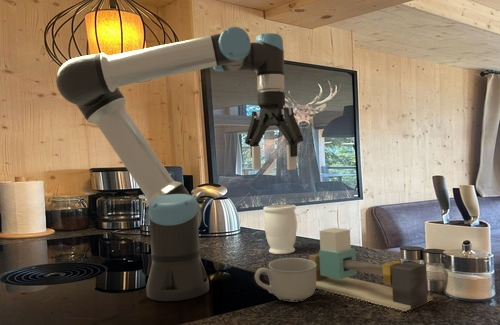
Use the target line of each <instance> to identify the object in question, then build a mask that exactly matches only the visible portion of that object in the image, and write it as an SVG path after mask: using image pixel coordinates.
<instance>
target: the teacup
mask: <svg viewBox="0 0 500 325" xmlns="http://www.w3.org/2000/svg"><path fill="white" fill-rule="evenodd" d="M316 267H317V264H316V263H315V262H314V261H312V260H309V258H308V259H307V258H303V257H283V258H277V259H274V260H272V261H270V262H269V263H268V266H267V267H259V268H258V269H257V270H256V271H255V272H254V273H255V274H254V281H255V282H256V284H257V285H258V286H260V287H261V288H262V289H264V290H267V292H268V293H269V294H273V296H276V298H277V299H278V300H280V301H281V299H290V300H295V299H305V298H308V297H309V298H310V297H311V296H313V294H314V293H315V291H316V290H315V289H316ZM262 273H265V274H266V275H267V277H268V279H269V285H268V284H266V283H264V282H263V281H261V279H260V276H261V274H262ZM309 298H308V299H309Z"/></svg>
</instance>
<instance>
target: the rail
mask: <svg viewBox="0 0 500 325" xmlns="http://www.w3.org/2000/svg"><path fill="white" fill-rule="evenodd" d="M308 260H312V261H314V262H315V263H316V264H317V267H316V288H319V289H323V290H326V291H330V292H334V293H337V294H341V295H345V296H349V297H353V298H357V299H361V300H365V301H368V302H371V303H375V304H379V305H383V306H387V307H391V308H395V309H399V310H402V311H407V310H409V309H412V308H415V307H417V306H419V305H422V304H424V303H427V302H429V301H431V300H433V301H434V298H433V295H429V294H428V286H427V269H426V268H427V267H426V264H423V263H417V262H412V261H406V262H404V263H402V262H401V261H397V260H392V261H389V262H385V263H382V264H378V263H372V262H367V261H361V260H357V259H356V260H351V259H345V258H344V259H343V265H344V268H345V269H350V270H355V271H357V272H361V273H365V274H370V275H375V276H380V277H382V281H383V284H386V285H383V284H379V283H374V282H370V281H365V280H361V279H356V278H352V277H346V278H343V279H340V280H339V279H335V278H331V277H326V276H322V275H320V258H319V252H318V253H315V254H310V255H309V256H308ZM387 285H390V286H387ZM427 304H428V303H427Z"/></svg>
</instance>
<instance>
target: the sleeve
mask: <svg viewBox="0 0 500 325" xmlns="http://www.w3.org/2000/svg"><path fill="white" fill-rule="evenodd" d="M319 244H320V245H319V246H320V247H319V248H320V249H319V250H318V253H319V258H320V275H322V276H326V277H331V278H335V279H339V280H340V279H343V278H346V277H348V278H351V277H353V276H356V275H358V271H355V270H350V269H345V268H344V265H343V259H344V258H345V259H351V260H356V261H357V253H356V248H353V247H352V246H351V244H352V243H351V231H350V229H347V228H337V227H332V228H330V227H329V228H327V229H321V230H319Z"/></svg>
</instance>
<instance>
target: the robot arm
mask: <svg viewBox="0 0 500 325" xmlns="http://www.w3.org/2000/svg"><path fill="white" fill-rule="evenodd" d="M283 39H284V38H283V37H282V36H281V35H280V34H278V33H273V32H267V33H262V34H257V35H256V36H255V41H254V42H251V38H250V36H249V34H248V32H247V31H246V30H244V29H243V28H241V27H239V26H230V27H227V28H226V29H224V30H223V31H222V32H221V33H217V34H216V33H215V34H211V35H207V36H201V37H196V38H191V39H187V40H183V41H181V40H180V41H176V42H173V43H172V42H171V43H168V44H161V45H156V46H152V47H147V48H146V47H145V48H141V49H137V50H131V51H125V52H122V53H116V54H112V55H109V54H107V53H105V52H99V53H98V52H97V53H94V54H88V55H82V56H79V57H74V58H71V59H69V60H66V62H64V63H63V64H61V66H60V67H59V69H58V70H57V71H58V72H57V75H56V80H55V83H56V88H57V90H58V92H59V94H60V95H61V97H63V99H65V101H67V102H69V103H71V104H73V105H76V106H77V108H78V109H79V111H80V113H81V114H82V115H83V117H84V119H86V121H87V122H88V123H89V124H94V125H96V126H97V127H98V128H99V130H100V131H101V133H102V135H103V136H104V137H105V138H106V140H107V142H108V143H109V145H110V146H111V147H112V149H113V151H114V152H115V153H116V155H117V156H118V158H119V160H120V161H121V162H122V164H123V165H124V166H125V169H126V170H127V171H128V173H129V174H130V176H131V177H132V178H133V180H134V181H135V183H136V185H138V187H139V189H140V190H141V192H142V193H143V194H144V196H145V198H146V203H145V208H146V209H147V211H148V212H147V215H148V219H149V233H150V234H149V235H150V249H151V250H150V251H151V266H150V270H149V275H148V278H147V283H146V286H145V287H146V288H145V289H146V297H147V298H148V299H150V300H153V301H159V302H177V301H184V300H190V299H195V298H197V297H200V296H203V295H205V294H206V293H208V292H209V291H210V282H209V277H208V274H207V272H206V270H205V267H204V265H203V262H202V260H201V251H200V250H201V249H200V236H199V235H200V234H199V233H200V232H199V228H200V226H201V224H202V220H203V219H202V218H203V212H202V208H201V206H200V203H199V202H198V201H197V199H196V197H195V196H193V195H192V194H190V193H189V191H188V190H187V188H186V187H185V185H184V183H183V182H181V181H177V180H176V181H175V180H174V179H173V178H172V176H171V174H170V173H169V172H168V170H167V168H166V167H165V165H164V164H163V162H162V161H161V160H160V158H159V157H158V155H157V153H156V152H155V151H154V150H153V148H152V147H151V145H150V144H149V142H148V140H147V139H146V137H145V136H144V135H143V133H142V132H141V130H140V129H139V127H138V126H137V124H136V122H135V121H134V120H133V118H132V117H131V115H130V114H129V112H128V111H127V109H126V108H125V105H126V100H127V99H126V98H125V96H124V95H123V93H122V92H121V90H120V89H119V87H125V86H127V85H132V84H138V83H142V82H147V81H152V80H156V79H161V78H166V77H171V76H176V75H181V74H185V73H190V72H196V71H200V70H204V69H209V68H213V70H214V71H215V72H224V73H228V72H249V71H251V72H253V71H254V72H255V71H256V84H257V85H256V90H257V92H258V93H257V106H258V107H259V111H256V110H255V111H253V110H252V111H251V119H250V124H249V127H248V129H247V134H246V137H245V140H244V143H245V145H248V146H249V147H250V158H251V167H252V169H251V170H262V156H261V155H262V154H261V151H262V150H261V145H260V143H261V141H262V139H263V137H264V135H265V133H266V131H267V129H269V128H270V127H274V126H275V127H277V128H278V129H279V131H280V133H281V134H282V135H283V137H284V138H285V139H286V141H287V144H286V168H287V171H289V170H292V171H293V170H297V157H298V144H299V143H302V142H304V137H303V135H302V132H301V130H300V127H299V125H298V122H297V120H296V117H295V116H294V115H295V114H294V108H293V107H284V106H285V105H286V93H285V92H284V91H285V86H286V85H285V55H284V54H285V50H284V41H283Z"/></svg>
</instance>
